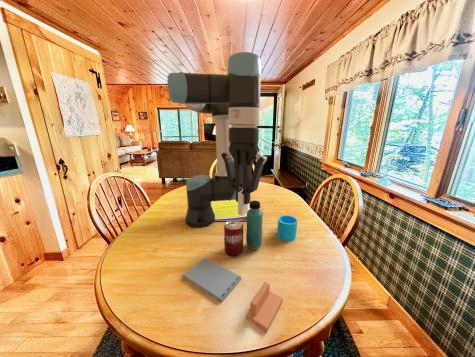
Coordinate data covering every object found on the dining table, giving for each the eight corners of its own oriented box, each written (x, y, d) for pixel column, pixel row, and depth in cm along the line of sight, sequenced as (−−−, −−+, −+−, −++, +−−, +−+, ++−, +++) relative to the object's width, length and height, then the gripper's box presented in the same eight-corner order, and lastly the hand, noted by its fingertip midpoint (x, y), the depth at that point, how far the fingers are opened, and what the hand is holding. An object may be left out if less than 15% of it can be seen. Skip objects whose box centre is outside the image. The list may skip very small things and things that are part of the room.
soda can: (224, 246, 79) (223, 220, 76) (242, 245, 80) (242, 219, 76) (224, 258, 72) (224, 230, 69) (244, 257, 73) (244, 229, 69)
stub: (246, 318, 50) (246, 303, 49) (263, 291, 58) (264, 278, 57) (267, 331, 47) (268, 316, 46) (282, 301, 55) (283, 288, 53)
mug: (297, 241, 82) (299, 224, 80) (278, 241, 83) (279, 224, 80) (291, 227, 94) (292, 211, 92) (274, 226, 94) (275, 211, 92)
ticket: (183, 277, 63) (183, 274, 63) (204, 260, 71) (204, 257, 71) (221, 302, 54) (221, 298, 54) (241, 279, 62) (241, 275, 62)
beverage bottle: (263, 244, 81) (265, 199, 75) (259, 254, 75) (261, 206, 69) (248, 241, 83) (249, 197, 77) (243, 250, 77) (244, 204, 71)
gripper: (213, 126, 48) (216, 212, 55) (260, 127, 41) (256, 225, 48) (231, 126, 54) (231, 203, 61) (274, 126, 47) (269, 214, 54)
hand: (242, 213), depth 54 cm, fingers closed
